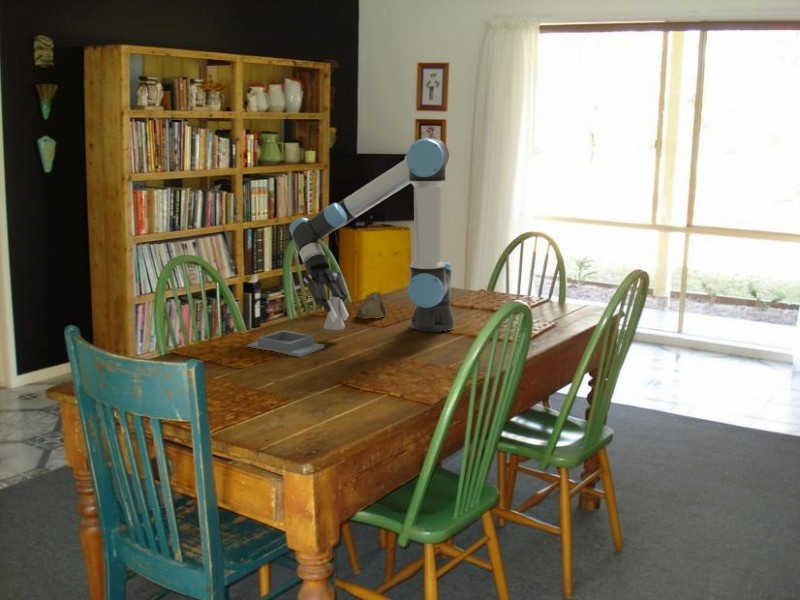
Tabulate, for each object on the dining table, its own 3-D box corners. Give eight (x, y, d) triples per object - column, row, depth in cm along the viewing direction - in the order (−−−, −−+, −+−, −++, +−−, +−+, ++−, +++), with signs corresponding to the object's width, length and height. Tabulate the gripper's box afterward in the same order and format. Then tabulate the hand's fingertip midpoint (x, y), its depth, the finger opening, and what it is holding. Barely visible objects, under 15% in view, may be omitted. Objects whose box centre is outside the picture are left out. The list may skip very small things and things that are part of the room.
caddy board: (324, 347, 287) (324, 337, 287) (299, 356, 276) (299, 345, 276) (273, 339, 297) (273, 328, 296) (247, 347, 286) (247, 336, 285)
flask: (342, 331, 291) (342, 300, 289) (320, 330, 292) (320, 299, 290) (348, 326, 298) (348, 296, 296) (326, 325, 299) (326, 295, 297)
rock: (348, 313, 327) (373, 312, 322) (353, 291, 330) (378, 290, 326) (362, 326, 335) (386, 325, 331) (366, 305, 339) (390, 304, 335)
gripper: (332, 264, 309) (358, 322, 298) (288, 269, 300) (313, 328, 289) (340, 251, 303) (367, 309, 293) (295, 255, 294) (321, 315, 284)
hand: (340, 318), depth 291 cm, fingers closed on flask, 3 cm apart
